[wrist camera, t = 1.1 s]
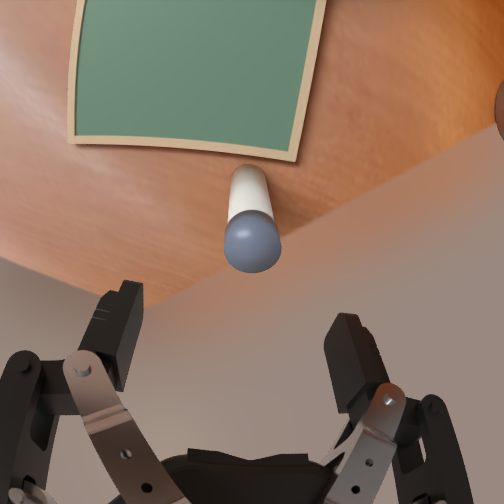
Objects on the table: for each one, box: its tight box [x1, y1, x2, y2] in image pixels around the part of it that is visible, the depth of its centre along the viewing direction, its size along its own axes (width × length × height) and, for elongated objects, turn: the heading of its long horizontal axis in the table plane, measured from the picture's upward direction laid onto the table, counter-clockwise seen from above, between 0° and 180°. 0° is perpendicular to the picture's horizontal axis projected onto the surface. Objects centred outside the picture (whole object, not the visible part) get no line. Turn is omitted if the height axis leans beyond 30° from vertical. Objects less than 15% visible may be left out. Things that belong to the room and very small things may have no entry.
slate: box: [67, 0, 326, 162], centre depth 22 cm, size 22×17×1 cm
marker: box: [224, 164, 281, 273], centre depth 24 cm, size 3×3×12 cm
